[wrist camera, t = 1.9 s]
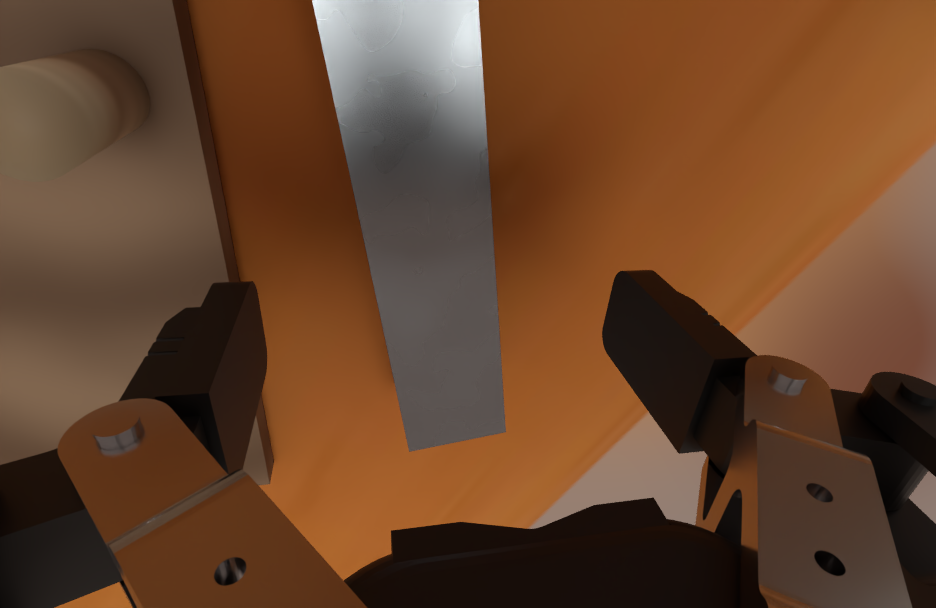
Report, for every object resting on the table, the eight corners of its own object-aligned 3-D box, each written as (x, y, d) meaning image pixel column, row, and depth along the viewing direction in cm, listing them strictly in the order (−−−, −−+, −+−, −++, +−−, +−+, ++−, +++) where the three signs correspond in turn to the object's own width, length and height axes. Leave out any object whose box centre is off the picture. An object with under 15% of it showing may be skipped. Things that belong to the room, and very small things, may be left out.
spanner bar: (300, -109, 13) (280, -145, 9) (439, -120, 13) (468, -158, 10) (401, 378, 21) (409, 451, 18) (482, 363, 22) (505, 432, 18)
